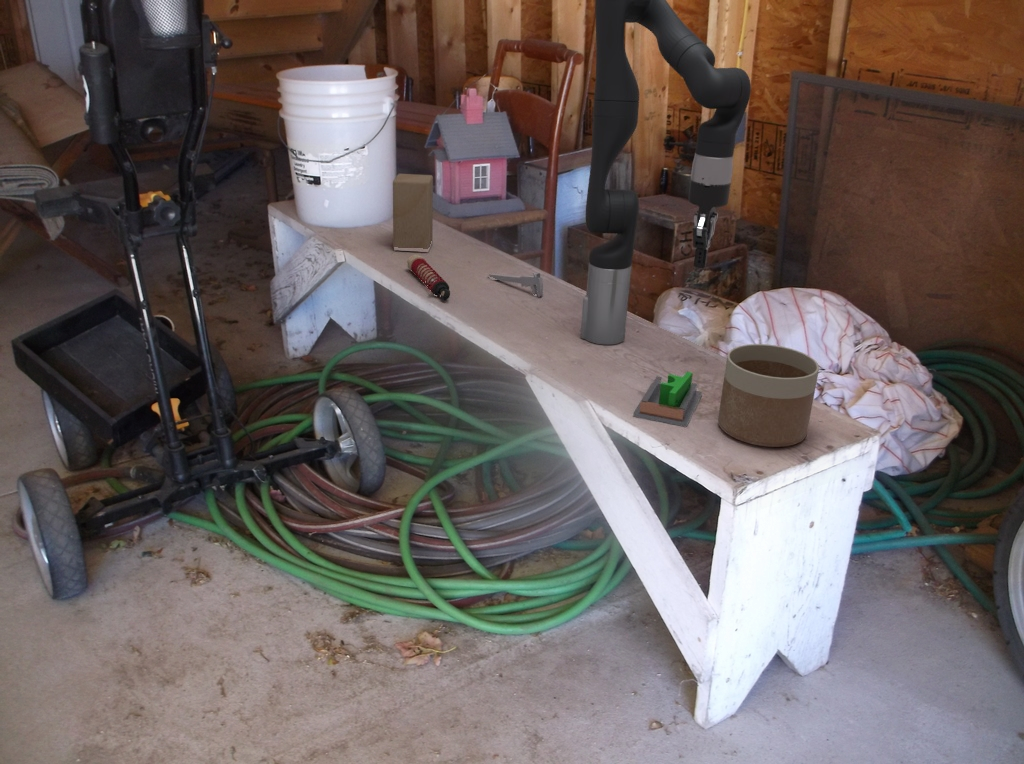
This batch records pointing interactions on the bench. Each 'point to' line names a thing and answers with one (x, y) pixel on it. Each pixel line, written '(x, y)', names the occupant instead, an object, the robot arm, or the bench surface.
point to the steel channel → (664, 413)
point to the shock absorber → (428, 276)
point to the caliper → (524, 281)
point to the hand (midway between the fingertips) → (699, 266)
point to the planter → (767, 394)
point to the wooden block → (412, 211)
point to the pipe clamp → (675, 389)
